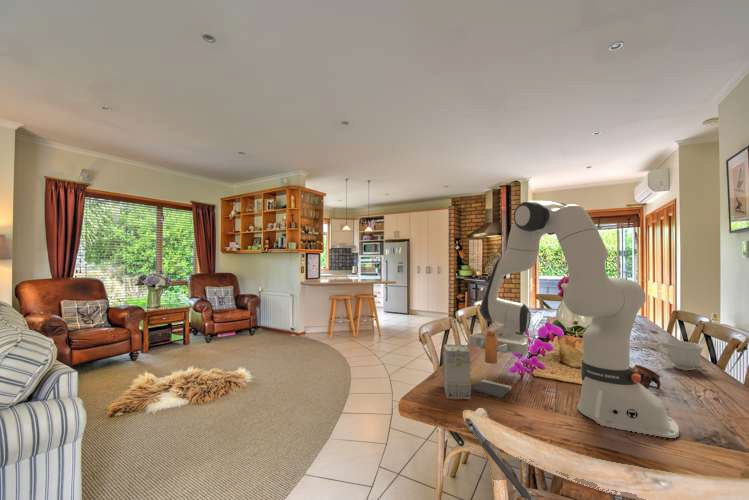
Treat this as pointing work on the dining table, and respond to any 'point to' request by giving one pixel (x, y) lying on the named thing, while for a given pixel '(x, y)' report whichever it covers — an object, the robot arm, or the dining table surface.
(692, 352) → the teacup
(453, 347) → the circuit breaker
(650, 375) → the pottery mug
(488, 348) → the lockout cap
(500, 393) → the tag pad
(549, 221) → the robot arm
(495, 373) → the dining table surface
